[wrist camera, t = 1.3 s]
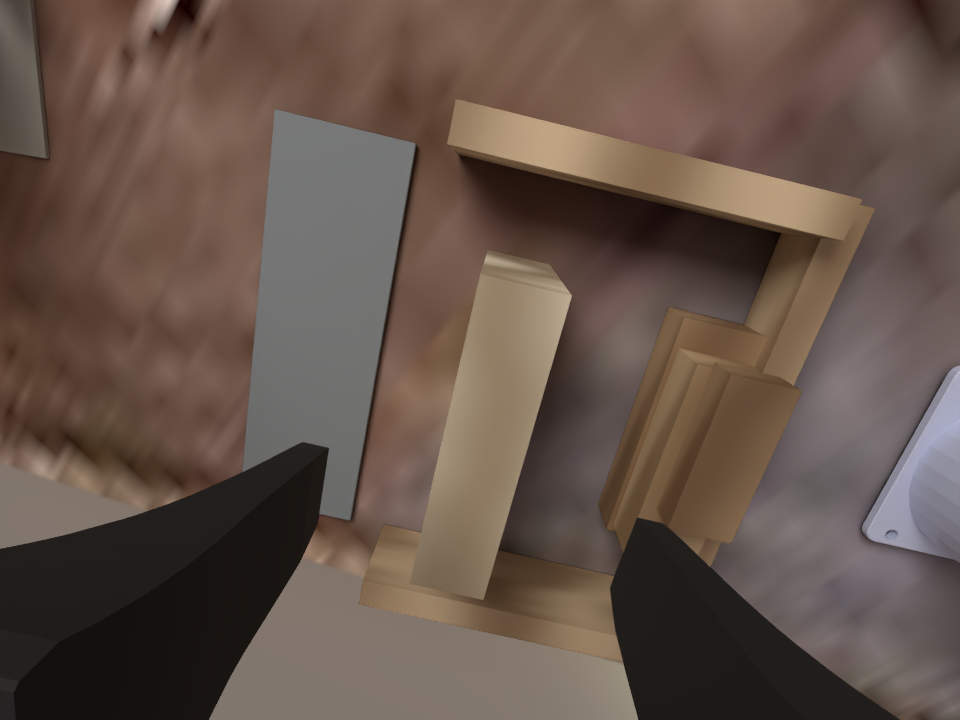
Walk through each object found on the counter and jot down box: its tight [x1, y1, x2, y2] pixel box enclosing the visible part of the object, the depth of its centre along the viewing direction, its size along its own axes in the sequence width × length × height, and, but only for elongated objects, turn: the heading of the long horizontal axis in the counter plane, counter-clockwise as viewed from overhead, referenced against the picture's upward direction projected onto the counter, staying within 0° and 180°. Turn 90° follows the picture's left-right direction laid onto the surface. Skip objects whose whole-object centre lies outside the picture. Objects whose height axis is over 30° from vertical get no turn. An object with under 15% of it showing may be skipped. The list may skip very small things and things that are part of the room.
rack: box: [359, 99, 875, 662], centre depth 19 cm, size 13×18×4 cm
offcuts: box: [598, 307, 802, 555], centre depth 18 cm, size 3×9×5 cm, turn 167°
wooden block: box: [409, 250, 572, 600], centre depth 17 cm, size 2×10×6 cm, turn 167°
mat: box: [242, 109, 417, 521], centre depth 20 cm, size 5×16×1 cm, turn 167°
